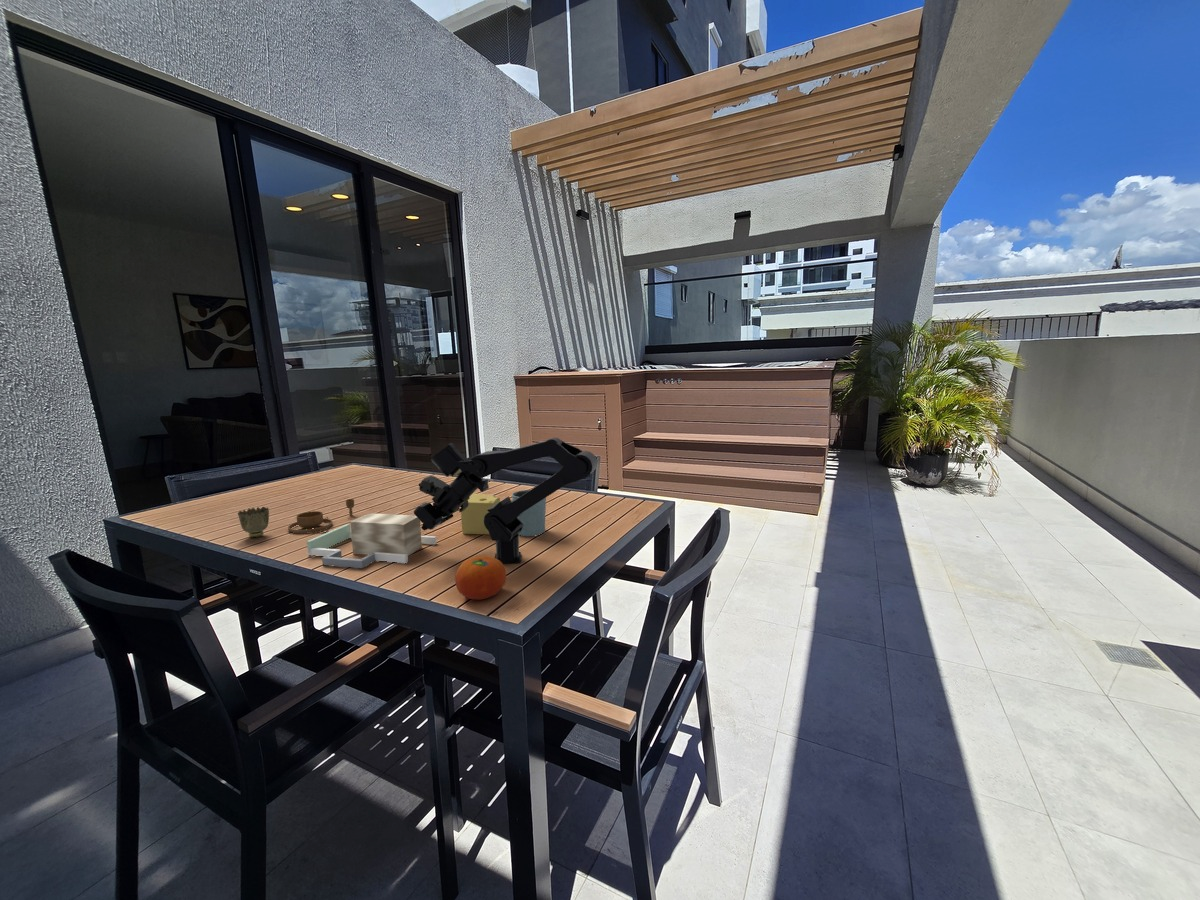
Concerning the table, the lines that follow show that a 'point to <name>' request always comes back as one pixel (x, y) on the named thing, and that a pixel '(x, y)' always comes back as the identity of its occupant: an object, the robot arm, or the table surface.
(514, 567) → the table surface
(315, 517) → the place setting
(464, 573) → the fruit
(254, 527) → the cup
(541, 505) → the blue-gray cylindrical container
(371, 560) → the low angular wall frame
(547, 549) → the table surface
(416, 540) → the birch block
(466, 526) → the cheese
